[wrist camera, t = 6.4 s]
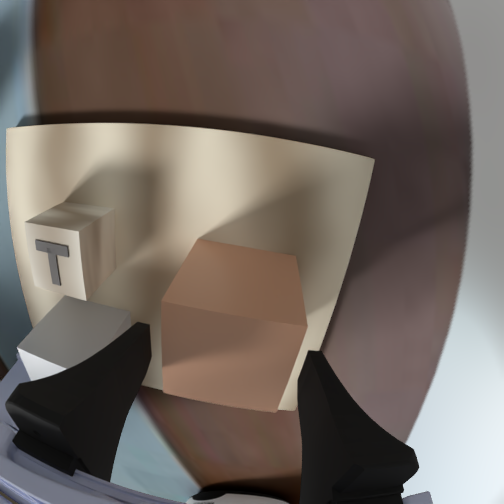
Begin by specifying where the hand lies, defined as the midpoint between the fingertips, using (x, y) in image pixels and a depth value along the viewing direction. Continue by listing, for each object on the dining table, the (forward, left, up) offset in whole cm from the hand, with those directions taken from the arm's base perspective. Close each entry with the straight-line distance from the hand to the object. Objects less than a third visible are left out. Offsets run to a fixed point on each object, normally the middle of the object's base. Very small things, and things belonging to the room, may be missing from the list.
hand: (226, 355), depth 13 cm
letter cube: (-10, +2, -6) cm, 12 cm away
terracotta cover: (0, 0, -6) cm, 6 cm away
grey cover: (-10, -6, -6) cm, 13 cm away
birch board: (-6, -1, -7) cm, 9 cm away
